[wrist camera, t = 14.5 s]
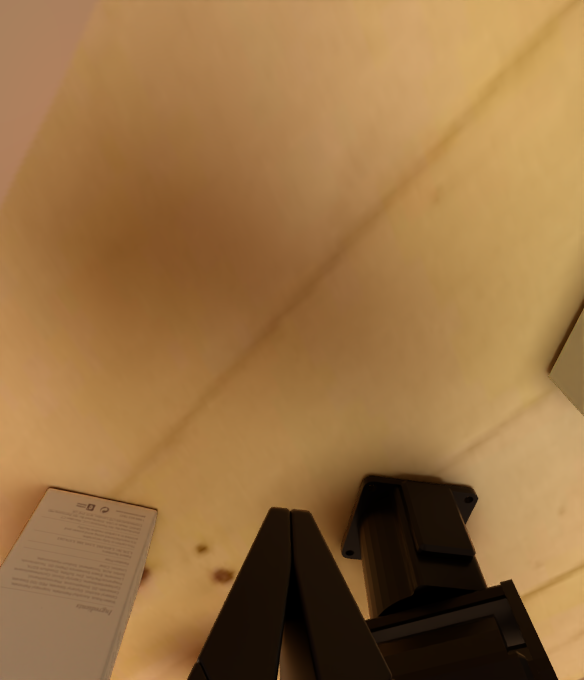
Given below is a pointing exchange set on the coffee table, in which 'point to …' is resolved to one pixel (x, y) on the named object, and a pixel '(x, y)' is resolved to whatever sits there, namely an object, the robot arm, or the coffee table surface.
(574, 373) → the tray
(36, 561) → the small box
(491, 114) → the coffee table surface
